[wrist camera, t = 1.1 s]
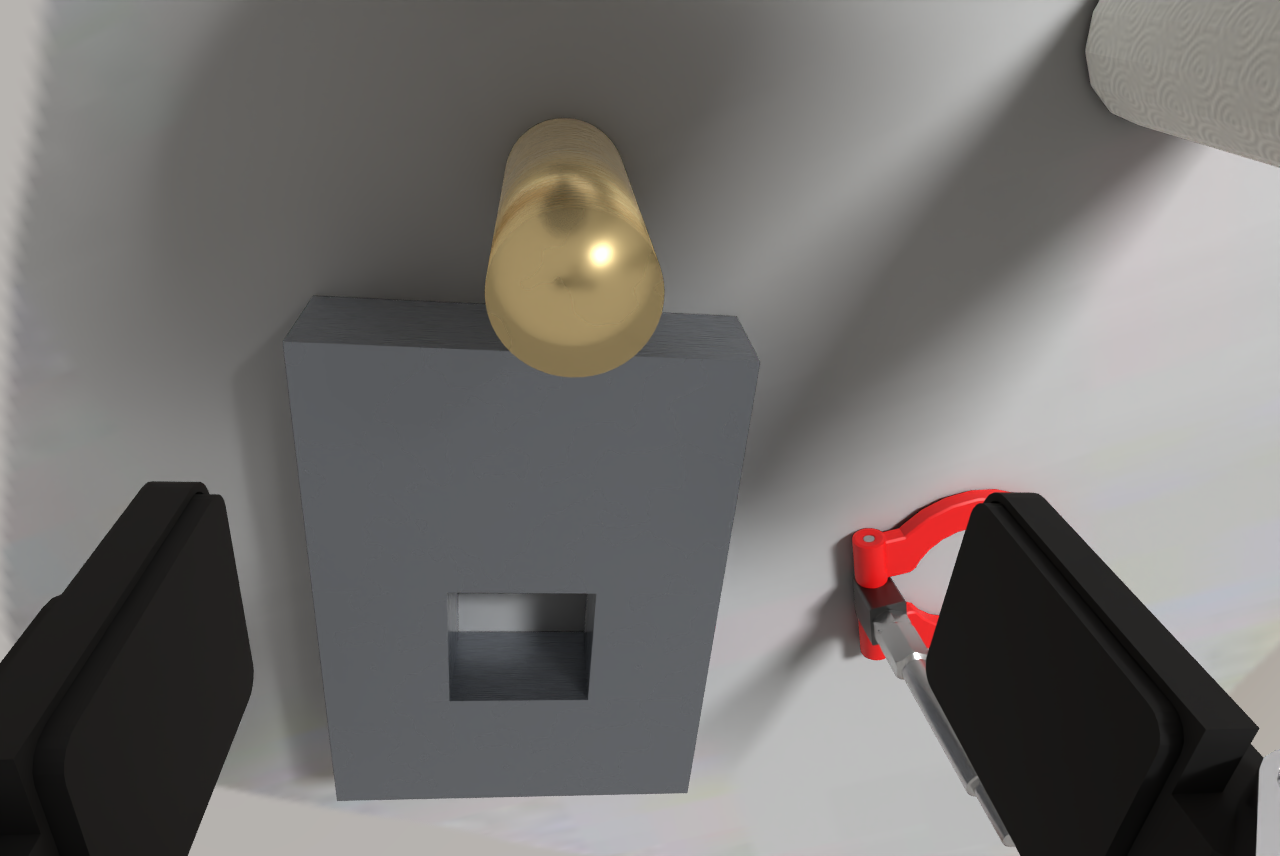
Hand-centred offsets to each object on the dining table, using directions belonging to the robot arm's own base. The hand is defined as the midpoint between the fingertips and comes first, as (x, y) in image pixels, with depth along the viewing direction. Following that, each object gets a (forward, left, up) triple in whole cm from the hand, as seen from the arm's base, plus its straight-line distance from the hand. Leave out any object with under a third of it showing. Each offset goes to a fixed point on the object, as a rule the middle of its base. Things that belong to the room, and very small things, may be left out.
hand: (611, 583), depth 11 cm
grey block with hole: (+15, -1, -21) cm, 26 cm away
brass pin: (0, 0, -21) cm, 21 cm away
